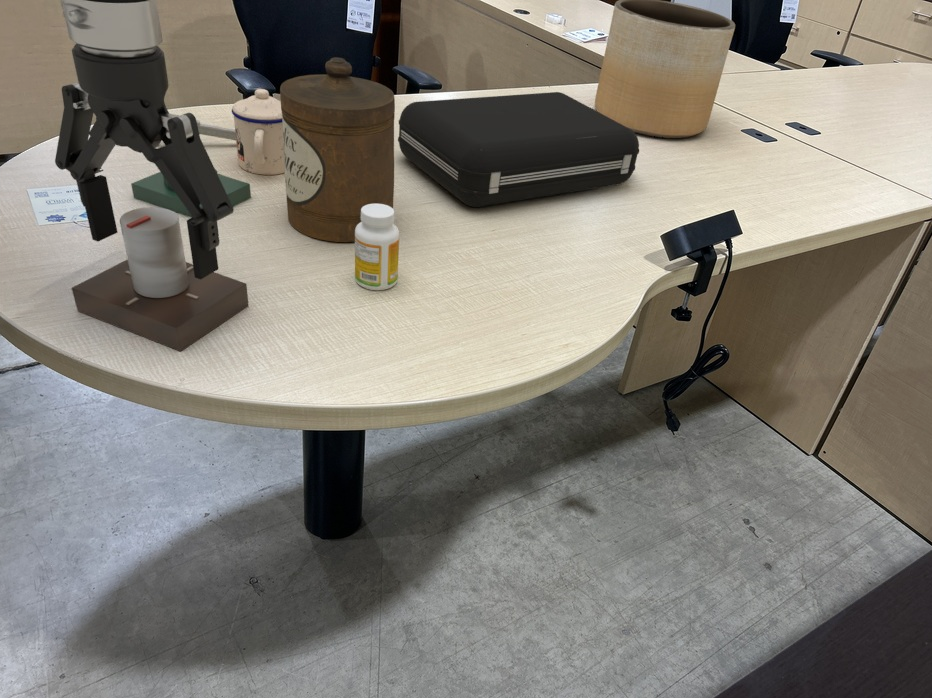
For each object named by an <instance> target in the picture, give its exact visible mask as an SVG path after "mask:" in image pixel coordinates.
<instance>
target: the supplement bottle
mask: <svg viewBox="0 0 932 698" xmlns="http://www.w3.org/2000/svg"><path fill="white" fill-rule="evenodd" d="M399 252H400V231H399V228H398V226H396V224H395V209H394V207H393V208H391V207H390V206H388V205H384V204H368V205H365V206H363V207H362V208H361V222H360V223H359V224H358V225H357V226H356V228H355V242H354V279H355V282H356V283H357V285H359V286H360V287H362V288H364V289H367V290H372V291H385V290H388V289H391V288H393V287H394V286H396V284H397V282H398V277H399V254H400V253H399Z"/></svg>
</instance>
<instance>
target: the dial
mask: <svg viewBox="0 0 932 698" xmlns="http://www.w3.org/2000/svg"><path fill="white" fill-rule="evenodd" d="M119 225H120V229H121V235H122V240H123V244H124V249H125V253H126V260H127V259H128V264H129V268H130V273H131V278H132V283H133V287H134V290H135V291H136V292H137V293H138V294H140V295H142V296H145V297H150V298H166V297H171V296H175V295H177V294H180V293H182V292H183V291H184V290H186V289H187V287H188V285H189V280H188V274H187V268H186V262H187V261H186V255H185V250H184V249H185V248H184V243H183V242H184V241H183V237H182V236H183V235H182V230H181V223H180V218H179V215H178V213H177V212H174V211H171V210H168V209H165V208H162V207H159V206H147V207H138V208H134V209H132V210H128V211H127V212H124V213H123V214H122V215H121V216H120V218H119Z"/></svg>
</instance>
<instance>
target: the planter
mask: <svg viewBox="0 0 932 698" xmlns="http://www.w3.org/2000/svg"><path fill="white" fill-rule="evenodd" d="M735 29H736V24H735V22H734V21H733V20H732V19H730V18H729V17H726V16H724V15H721V14H719V13H717V12H713V11H710V10H707V9H704V8H701V7H697V6H692V5H688V4H683V3H678V2H673V1H668V0H616V1H615V3H614V6H613V12H612V16H611V22H610V27H609V31H608V37H607V41H606V46H605V51H604V55H603V60H602V64H601V69H600V74H599V79H598V83H597V88H596V94H595V97H594V109H595V111H597V112H599V113H601V114H603V115H605V116H607V117H609V118H610V119H612V120H614V121H616V122H618V123H620V124H622V125H624V126H625V127H627V128H629V129H631V130H632V131H633V132H634V133H635V134H639V135H644V136H649V137H654V136H655V137H654V138H662V137H663V138H664V139H683V138H689V137H690V138H691V137H693V136H696V135H699V134H700V133H702V132H703V131H705V130H706V128H707V126H708V125H709V122H710V118H711V115H712V112H713V108H714V104H715V100H716V97H717V94H718V90H719V86H720V82H721V79H722V76H723V71H724V68H725V65H726V61H727V57H728V54H729V49H730V46H731V42H732V39H733V36H734V32H735Z"/></svg>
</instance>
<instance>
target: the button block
mask: <svg viewBox="0 0 932 698" xmlns="http://www.w3.org/2000/svg"><path fill="white" fill-rule="evenodd" d="M215 170H216V173H217V175H218V177H219V179H220V181H221V183H222V185H223V187H224V189H225V191H226V194H227V196H228V198H229V200H230V202H231V204H232V206H233V208H234V207H235V206H237V205H240V204H242V203H244V202H246V201H247V200H249V199H251V198H252V193H251V184H250V183H248V182H245V181H242V180H240V179H236V178H232V177H229V176H226V175H223V174H220V173H218V170H217V169H216V168H215ZM130 185H131V191H132V195H133V198H134V199H136V200H139V201H142V202H143V203H144V202H145V203H147V204H150V205H154V206H155V207H158V208H164V209H168V210H171V211H173V212H175V213H176V214H179V215H183V216H186V217H188V218H192V216H191V214H190V213H189V211H188V210H187V208H186V207H185V206H184V204H183V203H182V201H181V200H180V199H179V197H178V196H177V194H176V193H175V191H174V190H173V189H172V187H171V186H170V184H169V183H168V182H167V180H166V179H165V177H164V176H163V174H162V173H161V172H160V171H158V172H156V173H153V174H151V175H149V176H147V177H144V178H141V179H139V180H136V181H134V182H131V183H130ZM200 208H203V207H202V205H201V204H200Z"/></svg>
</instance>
